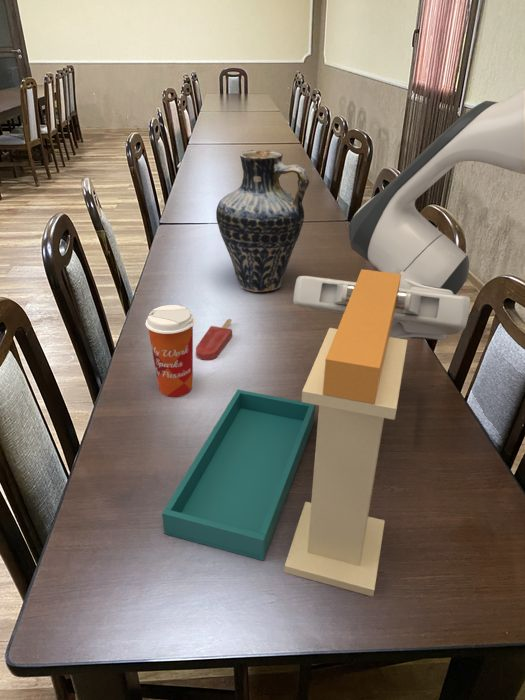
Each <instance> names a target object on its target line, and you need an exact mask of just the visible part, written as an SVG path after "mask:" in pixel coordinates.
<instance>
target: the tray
mask: <svg viewBox="0 0 525 700" xmlns="http://www.w3.org/2000/svg"><path fill="white" fill-rule="evenodd" d="M315 414H316V405H314V404H309V403H304V402H302V400H301V401H300V400H295V399H291V398H284V397H279V396H274V395H269V394H265V393H264V394H263V393H259V392H254V391H249V390H243V389H237V390H235V393H234V394H233V396H232V398H231V399H230V401H229V403H228V404H227V406H226V408H225V409H224V411H223V412H222V414H221V416H220V417H219V419H218V421H217V422H216V424H215V426H214V428H213V429H212V431H211V432H210V434H209V435H208V437H207V439H206V440H205V442H204V443H203V445H202V447H201V448H200V450H199V452H198V453H197V455H196V457H195V459H194V460H193V461H192V463H191V464H190V466H189V468H188V470H187V472H186V473H185V475H184V476H183V478H182V480H181V481H180V483H179V484H178V486H177V488H176V489H175V490H174V493H173V494H172V496H171V498H170V499H169V501H168V502H167V504H166V506H165V507H164V509H163V511H162V513H161V517H162V525H163V534H164V535H167V536H171V537H175V538H179V539H182V540H186V541H189V542H193V543H196V544H199V545H203V546H207V547H211V548H215V549H218V550H222V551H226V552H229V553H233V554H237V555H241V556H244V557H247V558H251V559H255V560H259V561H262V562H263V561H265V558H266V555H267V552H268V550H269V548H270V544H271V541H272V539H273V536H274V533H275V531H276V529H277V526H278V523H279V520H280V517H281V514H282V511H283V509H284V506H285V503H286V500H287V497H288V495H289V493H290V490H291V487H292V484H293V481H294V479H295V475H296V473H297V470H298V468H299V465H300V462H301V459H302V456H303V454H304V451H305V448H306V445H307V443H308V441H309V437H310V435H311V432H312V429H313V427H314V424H315V416H316V415H315Z"/></svg>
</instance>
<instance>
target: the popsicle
mask: <svg viewBox="0 0 525 700" xmlns="http://www.w3.org/2000/svg"><path fill="white" fill-rule="evenodd" d="M231 323H232V319H231V318H227V319H226V321H225V322H224V324H223V325H222V326H221V327H220V326H214V325H211V326H209V328H208V330H207V331H206V332H205V334H204V335H203V337H202V338H201V340H200V341H199V342H198V344H197V345H196V347H195V355H196V357H197V359H200V360H204V361H210V360H214V359H216V358H217V357H218V356H219V355H220V353H221V352H222V351H223V349H224V348H225V347H226V346H227V344H228V343H229V341H230V340H231V339H232V337H233V329H232V328H228V327H229V326H230V324H231Z"/></svg>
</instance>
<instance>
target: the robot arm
mask: <svg viewBox="0 0 525 700" xmlns="http://www.w3.org/2000/svg"><path fill="white" fill-rule="evenodd" d="M462 162H463V163H464V162H479V163H484V164H488V165H491V166H495V167H498V168H501V169H505V170H508V171H509V172H510V171H511V172H514V173H517V174H522V175H525V85H524V86H523V87H522V88H521V89H519V90H518V91H517V92H515V93H513V94H512V95H510V96H508V97H507V98H505V99H503V100H502V99H501V100H500V101H491V100H485V101H482V102H480V103H478V104H477V105H475V106H474V107H472V108H470V109H469V110H467V111H466V112H465V113H464V114H463V115H461V116H460V117H459V118H458V119H457V120H456V121H454V122H453V123H452V124H451V125H450V126H449V127H448V128H446V130H444V131H443V132H442V133H441V134H440V135H438V137H437V138H435V140H434V141H432V142H431V143H430V144H429V145H428V146H427V147H426V148H425V149H424V150H423V151H422V152H421V153H420V154H419V155H418V156H417V157H416V158H415V159H413V160H412V161H411V163H409V164H408V165H407V166H406V167H405V168H404V169H403V170H402V171H401V172H400V173H399V174H397V176H396V177H395V178H393V180H392V181H390V182H389V183H388V184H387V185H386V186H385V187H383V188H382V190H380V191H379V192H378V193H377V194H375V196H373V197H371V198H370V199H368V200H367V201H366V202H365V203H364V204H362V205H361V206H360V207H359V208H358V210H356V212H355V213H354V215H353V216H352V218H351V220H350V221H349V223H348V235H349V243H350V247H351V250H352V251H354V252H355V253H356V254H358V255H359V256H360V257H361V258H363V259H364V260H366V261H367V262H368V263H371V264H372V265H373V266H374V267H375V268H376V269H377V271H380V272H388V273H396V274H401V280H400V286H399V291H398V293H397V300H396V305H395V314H394V318H393V323H392V327H391V332H390V336H389V337H392V338H399V339H412V340H413V339H419V340H431V341H443V340H446V338H447V336H451V335H455V334H458V333H461V332H462V331H464V330H465V329H466V327H467V324H468V319H469V314H470V307H471V299H470V296H467V295H463V294H458V293H459V292H460V290H461V289H462V288H463V287H464V285H465V283H466V281H467V280H468V279H469V271H470V258H469V255H467V254H466V253H465V251H463V250H462V249H461V248H460V247H459V246H458V245H456V243H454V241H452V240H451V239H450V238H449V237H448V236H447V235H446V234H444V233H443V232H441V230H439V229H438V228H437V227H436V226H435V225H433V224H432V223H431V222H430V220H428V219H427V218H426V217H424V216H423V215H422V214H421V213H420V212H419V211H418V209H417V208H416V201H417V200H418V198H419V197H421V196H422V195H423V194H424V193H425V192H426V191H427V190H429V189H430V188H431V187H432V186H433V185H435V184H436V182H438V181H439V180H440V179H441V178H442V177H444V175H446V174H447V173H448V172H449V171H450V170H452V168H453V167H455V166H456V165H458V164H460V163H462ZM356 282H357V281H349V280H342V279H334V278H328V277H319V276H311V275H299V276H297V278H296V280H295V285H294V290H293V304H294V305H295V306H299V307H302V308H305V309H310V310H313V311H319V312H324V313H332V314H339V315H343V314H344V312H345V309H346V307H347V304H348V302H349V299H350V297H351V294H352V292H353V289H354V287H355V284H356Z"/></svg>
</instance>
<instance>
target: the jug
mask: <svg viewBox="0 0 525 700" xmlns="http://www.w3.org/2000/svg"><path fill="white" fill-rule="evenodd" d="M283 155H284V154H283V153H282V152H278V151H273V150H265V151H262V150H255V149H251V150H245V151H242V152H241V153H240V154H239V157H240V162H241V166H242V171H243V175H242V176H243V177H242V180H241V184H240V186H239V187H237V188H236V189H234V190H233V191H231V192H229V193H227V194H226V195H224V196H223V197H222V198H221V199H220V200H219V202H218V204H217V207H216V211H215V212H216V213H215V215H216V216H215V217H216V218H215V219H216V223H217V226H218V229H219V233H220V236H221V238H222V241H223V243H224V245H225V247H226V250H227V252H228V254H229V255H228V256H229V257H230V260H231V262H232V266H233V269H234V273H235V277H236V281H237V284H238V285H239V287H240V288H242V289H243V290H246V291H251V292H255V293H256V292H257V293H258V292H269V291H274V290H278V289H279V288H280V287H282V282H283V280H284V276H285V272H286V270H287V268H288V264H289V262H290V259H291V256H292V254H293V251H294V248H295V246H296V243H297V241H298V240H299V237H300V234H301V230H302V227H303V224H304V221H305V210H304V206H303V200H304V197H305V195H306V192H307V189H308V187H309V185H310V178H309V176H308V175H309V174H308V172H307V171H306V168H304V167H302V166H300V165H298V164H289V165H287V164H286V165H285V163H283V162H282V160H283ZM289 173H294V174H297V175H296V176H297V179H298V180H297V190H296V192H295V195H293V194H292V193H291V192H290V191H287V190H285V189H284V188H283V187H282V186H281V183H280V177H281V175H286V174H289Z"/></svg>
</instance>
